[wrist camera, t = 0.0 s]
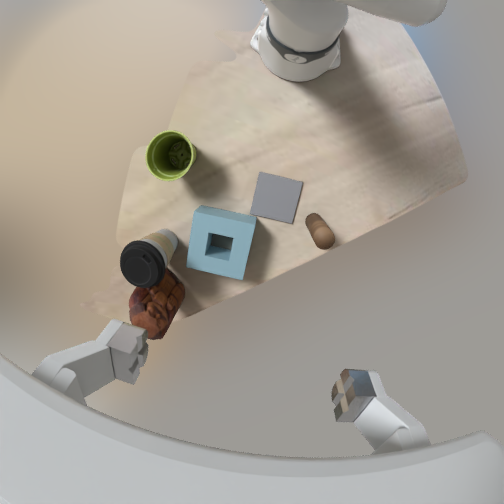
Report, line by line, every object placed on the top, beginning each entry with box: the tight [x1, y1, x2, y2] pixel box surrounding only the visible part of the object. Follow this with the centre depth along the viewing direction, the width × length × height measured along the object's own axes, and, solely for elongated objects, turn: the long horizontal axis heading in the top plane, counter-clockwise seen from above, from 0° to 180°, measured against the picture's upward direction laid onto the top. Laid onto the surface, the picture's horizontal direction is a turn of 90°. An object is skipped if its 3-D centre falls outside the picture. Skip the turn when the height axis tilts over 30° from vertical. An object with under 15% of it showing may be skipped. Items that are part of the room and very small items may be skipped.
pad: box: [250, 172, 303, 223], centre depth 55 cm, size 9×9×1 cm
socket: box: [186, 205, 256, 280], centre depth 56 cm, size 12×12×6 cm
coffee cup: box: [120, 229, 178, 288], centre depth 53 cm, size 9×9×15 cm
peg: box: [305, 213, 335, 249], centre depth 51 cm, size 4×4×12 cm
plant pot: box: [145, 130, 196, 181], centre depth 49 cm, size 9×9×9 cm
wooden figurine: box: [129, 268, 185, 340], centre depth 56 cm, size 12×6×18 cm, turn 34°
